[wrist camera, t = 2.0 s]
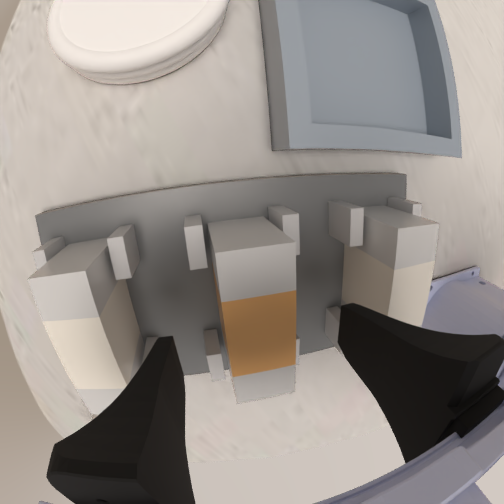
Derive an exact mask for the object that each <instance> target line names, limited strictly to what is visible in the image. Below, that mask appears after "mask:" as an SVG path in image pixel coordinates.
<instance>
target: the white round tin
mask: <svg viewBox="0 0 504 504" xmlns="http://www.w3.org/2000/svg"><path fill="white" fill-rule="evenodd" d="M228 3H229V0H54V1H53V3H52V5H51V8H50V11H49V14H48V18H47V36H48V40H49V44H50V46H51V48H52V50H53V52H54V53H55V55H56V56H57V57H58V58H59V59H60V60H61V61H63V62H64V63H65V64H67V65H68V66H69V67H71V68H72V69H73V70H75V71H76V72H78V73H79V74H80V75H82V76H84V77H85V78H87V79H90V80H93V81H96V82H100V83H105V84H132V83H140V82H144V81H149V80H152V79H155V78H158V77H161V76H164V75H166V74H168V73H171V72H173V71H175V70H177V69H178V68H180V67H182V66H184V65H185V64H187V63H188V62H190V61H191V60H193V59H194V58H195V57H196V56H197V55H199V54H200V53H201V52H202V51H203V50H204V49H205V48H206V47H207V46H208V45H209V44H210V43H211V41H212V40H213V39H214V38H215V36H216V35H217V33H218V31H219V29H220V28H221V25H222V23H223V20H224V17H225V13H226V10H227V6H228Z"/></svg>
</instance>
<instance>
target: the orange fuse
mask: <svg viewBox="0 0 504 504" xmlns="http://www.w3.org/2000/svg"><path fill="white" fill-rule="evenodd" d="M207 225H208V234H209V242H210V250H211V258H212V266H213V274H214V281H215V288H216V295H217V302H218V309H219V316H220V323H221V329H222V336H223V342H224V348H225V352H226V357H227V362H228V366H229V371H230V375H231V380H232V384H233V388H234V392H235V397H236V401H237V404H240V403H246V402H251V401H256V400H261V399H266V398H271V397H275V396H280V395H284V394H288V393H292V392H295V370H296V243H295V241H294V240H292V239H291V238H290V237H289V236H287V235H286V234H285V233H284V232H282V231H281V230H280V229H279V228H277V227H276V226H275V225H274V224H272V223H271V222H270V221H269V220H267V219H266V218H265V217H264V216H261V217H252V218H244V219H235V220H227V221H219V222H211V223H207Z"/></svg>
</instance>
